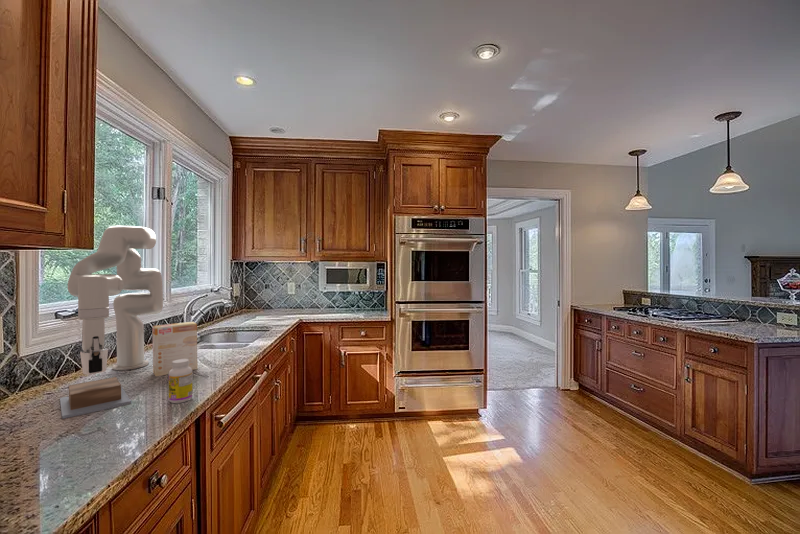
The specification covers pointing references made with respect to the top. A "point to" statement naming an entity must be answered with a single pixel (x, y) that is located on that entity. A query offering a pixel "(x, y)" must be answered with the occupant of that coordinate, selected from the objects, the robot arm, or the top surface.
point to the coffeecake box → (174, 346)
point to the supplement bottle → (180, 381)
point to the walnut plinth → (94, 393)
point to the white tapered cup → (86, 357)
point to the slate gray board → (67, 412)
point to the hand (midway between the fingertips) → (94, 369)
